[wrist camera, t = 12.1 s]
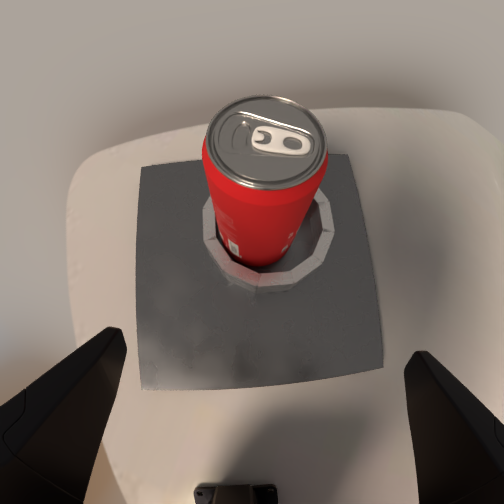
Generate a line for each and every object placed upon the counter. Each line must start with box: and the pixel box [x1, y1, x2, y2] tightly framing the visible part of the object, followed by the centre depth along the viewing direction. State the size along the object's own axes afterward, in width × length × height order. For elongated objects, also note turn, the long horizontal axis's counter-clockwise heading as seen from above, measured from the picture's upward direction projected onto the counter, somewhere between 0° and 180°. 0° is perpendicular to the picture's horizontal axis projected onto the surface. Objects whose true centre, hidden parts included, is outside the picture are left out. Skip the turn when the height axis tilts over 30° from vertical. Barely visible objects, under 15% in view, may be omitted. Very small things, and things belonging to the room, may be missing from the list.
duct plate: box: [136, 154, 383, 390], centre depth 21 cm, size 18×18×4 cm
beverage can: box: [202, 95, 328, 266], centre depth 17 cm, size 5×5×12 cm
